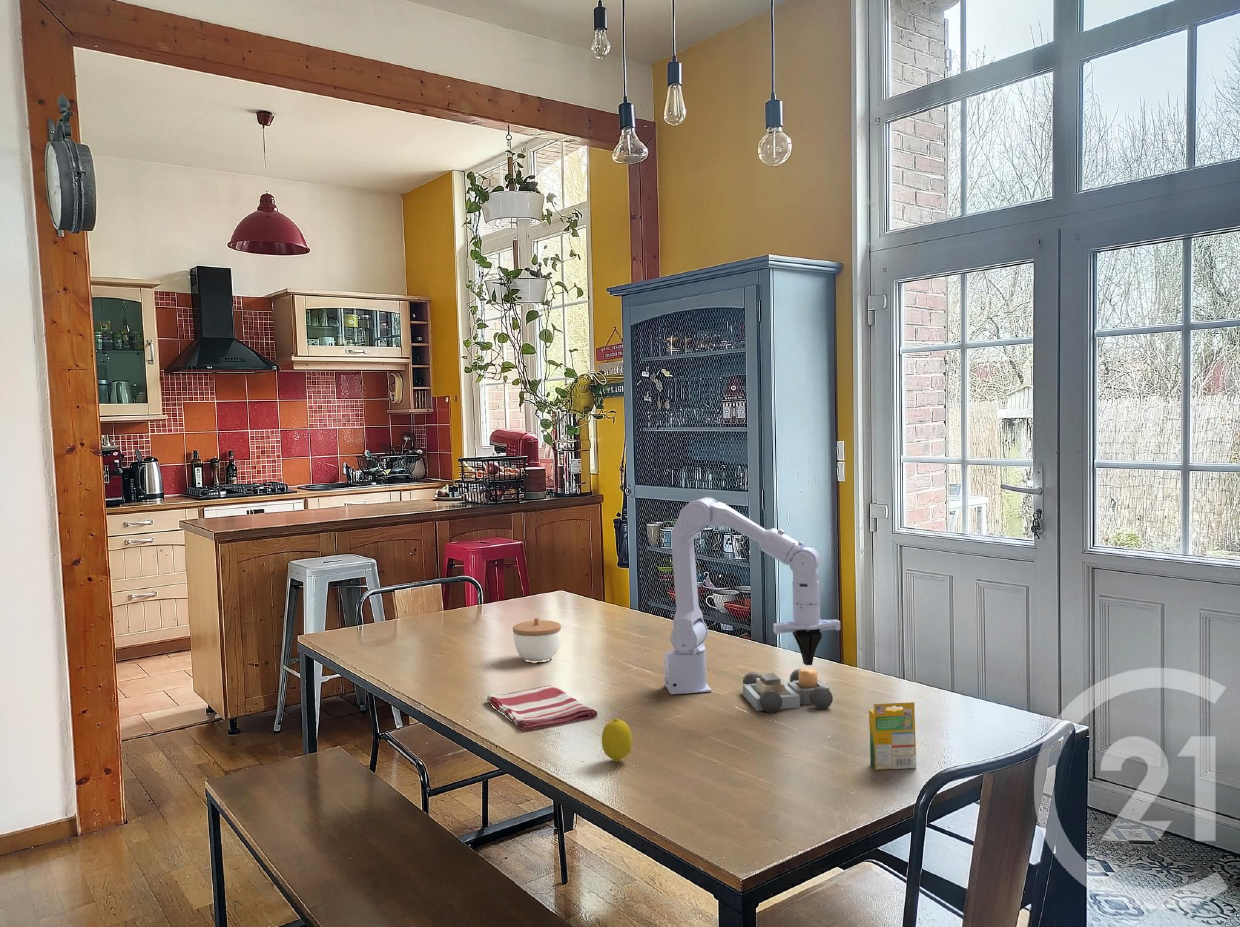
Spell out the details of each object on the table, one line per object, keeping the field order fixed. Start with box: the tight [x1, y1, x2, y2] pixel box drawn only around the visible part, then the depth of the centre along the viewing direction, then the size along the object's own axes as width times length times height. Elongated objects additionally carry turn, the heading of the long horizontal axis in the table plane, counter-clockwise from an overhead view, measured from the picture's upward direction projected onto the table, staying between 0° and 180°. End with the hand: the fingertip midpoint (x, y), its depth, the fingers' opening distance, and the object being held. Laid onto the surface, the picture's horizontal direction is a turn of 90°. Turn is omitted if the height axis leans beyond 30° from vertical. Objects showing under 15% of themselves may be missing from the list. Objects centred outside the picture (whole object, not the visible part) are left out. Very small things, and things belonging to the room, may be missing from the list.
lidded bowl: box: [512, 617, 562, 661], centre depth 229 cm, size 13×13×11 cm
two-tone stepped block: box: [756, 672, 785, 696], centre depth 189 cm, size 4×6×6 cm
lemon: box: [601, 717, 633, 763], centre depth 157 cm, size 6×6×8 cm
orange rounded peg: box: [799, 668, 818, 689], centre depth 190 cm, size 4×4×4 cm
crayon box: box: [868, 701, 917, 771], centre depth 151 cm, size 7×3×12 cm, turn 92°
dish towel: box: [486, 684, 598, 732], centre depth 189 cm, size 17×23×3 cm
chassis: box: [742, 668, 834, 714], centre depth 189 cm, size 17×15×4 cm
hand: (807, 664), depth 190 cm, fingers closed
